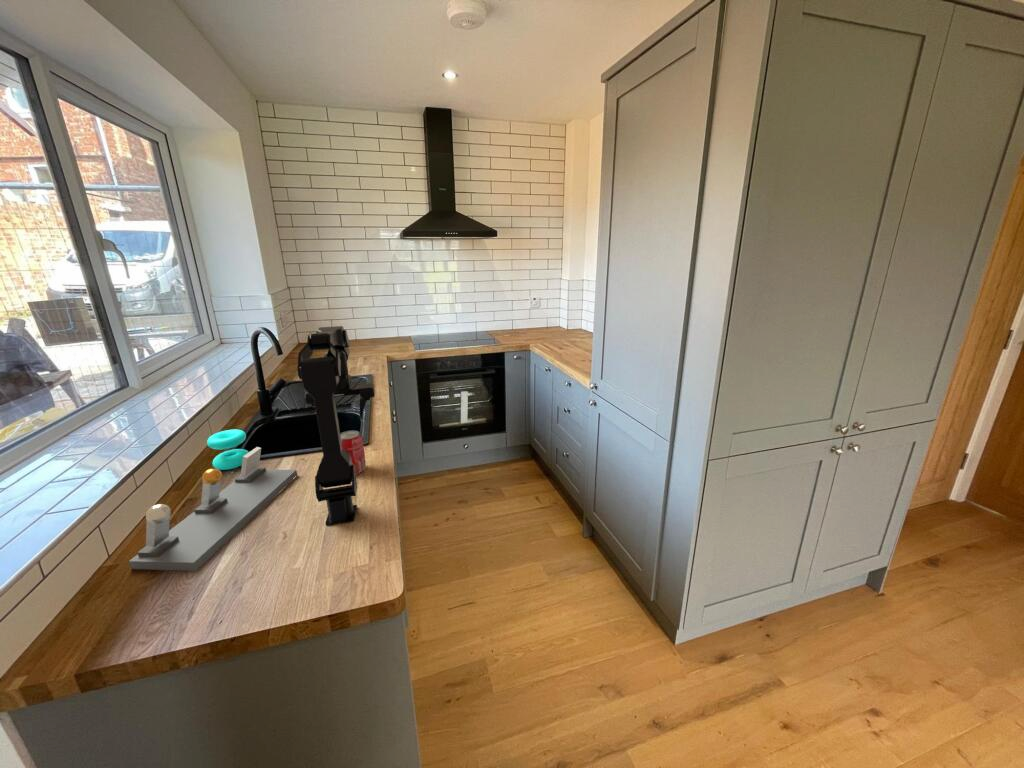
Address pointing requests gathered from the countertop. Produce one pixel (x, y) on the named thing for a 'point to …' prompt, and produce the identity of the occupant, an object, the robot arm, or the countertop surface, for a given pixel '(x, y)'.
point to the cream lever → (157, 524)
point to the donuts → (226, 441)
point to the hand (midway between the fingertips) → (345, 420)
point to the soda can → (354, 449)
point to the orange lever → (211, 486)
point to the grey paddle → (250, 461)
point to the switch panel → (214, 522)
